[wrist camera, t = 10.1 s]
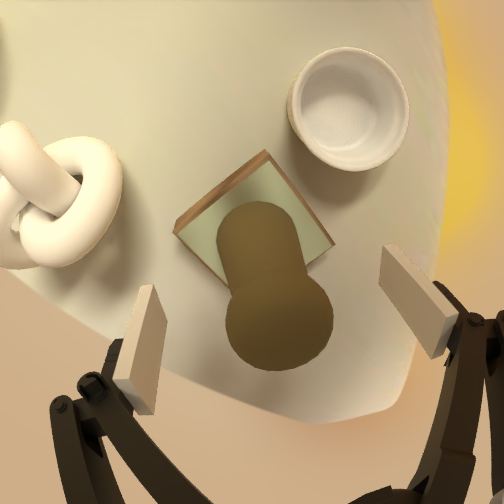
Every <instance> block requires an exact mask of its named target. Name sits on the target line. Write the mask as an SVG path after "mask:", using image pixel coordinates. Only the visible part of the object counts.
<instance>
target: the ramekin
mask: <svg viewBox="0 0 504 504" xmlns="http://www.w3.org/2000/svg"><path fill="white" fill-rule="evenodd" d="M287 113H288V118H289V121H290V124H291V126H292V128H293V130H294V131H295V133H296V134H297V136H298V137H299V138H300V139H301V141H302V142H303V143H304V144H305V145H306V147H307V148H308V149H309V150H310V151H311V152H312V153H313V154H314V155H315V156H316V157H317V158H318V159H320V160H321V161H322V162H324V163H326V164H327V165H329V166H331V167H333V168H336V169H339V170H343V171H350V172H361V171H366V170H370V169H373V168H376V167H378V166H380V165H382V164H383V163H385V162H386V161H388V160H389V159H390V158H391V157H392V156H393V155H394V154H395V153H396V151H397V150H398V149H399V147H400V146H401V144H402V142H403V140H404V138H405V135H406V132H407V128H408V124H409V104H408V99H407V95H406V92H405V89H404V87H403V84H402V82H401V81H400V79H399V77H398V76H397V74H396V73H395V72H394V70H393V69H392V68H391V67H390V66H389V65H388V64H387V63H386V62H385V61H383V60H382V59H381V58H379V57H378V56H376V55H375V54H373V53H370V52H368V51H366V50H363V49H359V48H354V47H339V48H334V49H330V50H327V51H325V52H322V53H320V54H319V55H317V56H316V57H314V58H313V59H311V60H310V61H309V62H308V63H307V64H306V65H305V66H304V67H303V69H302V70H301V72H300V73H299V74H298V75H297V77H296V78H295V80H294V81H293V83H292V85H291V87H290V89H289V93H288V98H287Z"/></svg>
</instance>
